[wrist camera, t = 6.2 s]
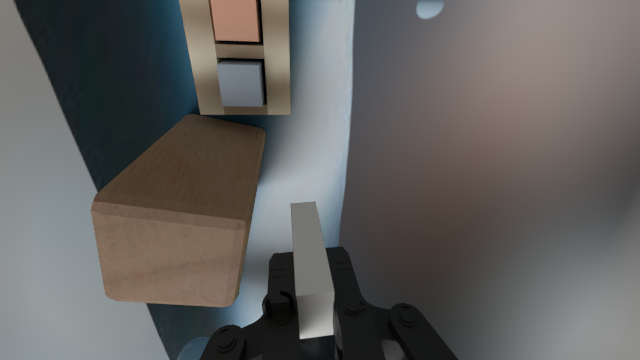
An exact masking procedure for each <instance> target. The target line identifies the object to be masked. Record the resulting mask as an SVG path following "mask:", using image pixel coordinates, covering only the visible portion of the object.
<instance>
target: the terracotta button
mask: <svg viewBox="0 0 640 360" xmlns="http://www.w3.org/2000/svg"><path fill="white" fill-rule="evenodd" d="M210 1H211V8H212V15H213V23H214V30H215V37H216V40H226V41H255V42H259V41H261V40H262V38H261V23H260V8H259V0H210Z"/></svg>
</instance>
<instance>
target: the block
mask: <svg viewBox="0 0 640 360" xmlns="http://www.w3.org/2000/svg"><path fill="white" fill-rule="evenodd" d="M265 139H266V134H265V131H264V130H262V129H261V128H259V127H254V126H249V125H245V124H240V123H235V122H230V121H225V120H221V119H216V118H211V117H206V116H201V115H197V114H189V115H186V116H185V117H184V118H183V119H182V120H180V121H179V122H178V123H177V124H176V125H175V126H174V127H172V128H171V129H170V130H169V131H168V132H167V133H166V134H164V135H163V136H162V137H161V138H160V139H159V140H158V141H156V142H155V143H154V144H153V145H152V146H151V147H150V148H149V149H147V150H146V151H145V152H144V153H143V154H142V155H141V156H139V157H138V158H137V159H136V160H135V161H134V162H133V163H131V164H130V165H129V166H128V167H127V168H126V169H125V170H123V171H122V172H121V173H120V174H119V175H118V176H117V177H115V178H114V179H113V180H112V181H111V182H110V183H109V184H107V185H106V186H105V187H104V188H103V189H102V190H101V191H99V192H98V193H97V194H96V196H95V198H94V201H93V203H92V207H91V214H92V219H93V225H94V231H95V237H96V243H97V248H98V254H99V260H100V266H101V271H102V277H103V283H104V289H105V294H106V295H107V296H108V297H109V298H110V299H113V300H115V301H125V302H142V303H159V304H177V305H194V306H212V307H227V306H231V305H232V304H233V302H234V301H235V299H236V298H237V297H238V295H239V289H240V283H241V277H242V272H243V266H244V260H245V254H246V249H247V243H248V237H249V231H250V226H251V220H252V214H253V208H254V203H255V197H256V191H257V185H258V180H259V174H260V168H261V162H262V156H263V151H264V145H265Z"/></svg>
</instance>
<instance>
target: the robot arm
mask: <svg viewBox="0 0 640 360" xmlns="http://www.w3.org/2000/svg"><path fill="white" fill-rule="evenodd" d="M291 219H292V237H293V252H286V253H275V254H273V256H272V258H271V259H270V261H269V279H268V294H267V295H266V296H265V298H264V299H263V303H262V309H263V315H262V317H261V318H260V319H258V320H257V321H256V322H254V323H252V324H250V325H248V326H246V327H243V328H240V327H239V326H236V325H226V326H224V327H221V328H219V329H218V330H217V331H216V332H214V333H213V335H212V336H211V337H197V338H194V339H192V340H191V341H189V342H188V343H187V344H186V345H185V347H184V348H183V350H182V351H181V353H180V355H179V357H178V359H177V360H458V359H457V357H456V356H455V355H454V354H453V353H452V351H451V350H450V349H449V348H448V346H447V345H446V344H445V342H444V341H443V340H442V339H441V337H440V336H439V335H438V334H437V332H436V331H435V330H434V329H433V327H432V326H431V325H430V324H429V322H428V321H427V320H426V318H425V317H424V316H423V315H422V314H421V312H420V311H418V310H417V308H415V307H413V306H412V305H409V304H405V303H400V304H396V305H394V306H393V307H392V308H391V310H390V309H384V308H379V307H375V306H373V305H371V304H369V303H368V302H367V301H366V300H365V299H364V298H363V297H362V295H361V292H360V289H359V286H358V283H357V280H356V276H355V273H354V270H353V267H352V264H351V260H350V257H349V255H348V253H347V251H346V250H345V249H344V248H343V247H332V248H325V244H324V240H323V235H322V230H321V226H320V221H319V216H318V211H317V207H316V202H304V203H291Z"/></svg>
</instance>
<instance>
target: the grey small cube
mask: <svg viewBox="0 0 640 360" xmlns="http://www.w3.org/2000/svg"><path fill="white" fill-rule="evenodd" d="M216 65H217V72H218V79H219V85H220V92H221V99H222V106H240V107H262V105H263V102H264V98H265V97H264V82H263V67H262V61H243V60H224V61H222V62H220V63H218V64H216Z"/></svg>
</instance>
